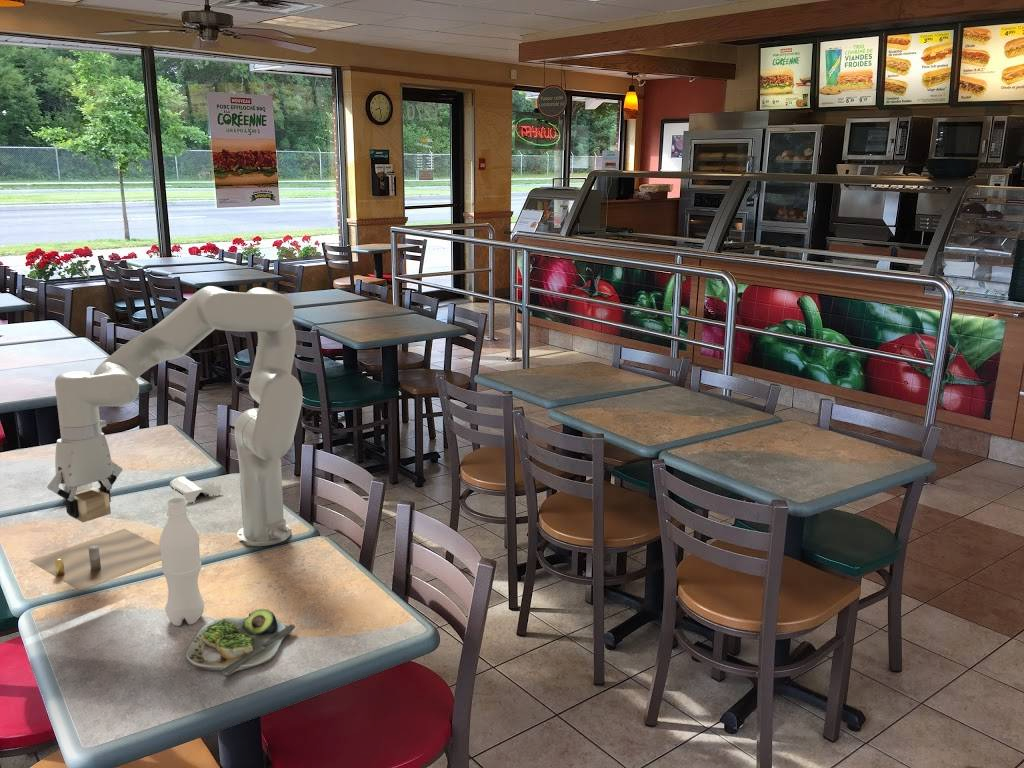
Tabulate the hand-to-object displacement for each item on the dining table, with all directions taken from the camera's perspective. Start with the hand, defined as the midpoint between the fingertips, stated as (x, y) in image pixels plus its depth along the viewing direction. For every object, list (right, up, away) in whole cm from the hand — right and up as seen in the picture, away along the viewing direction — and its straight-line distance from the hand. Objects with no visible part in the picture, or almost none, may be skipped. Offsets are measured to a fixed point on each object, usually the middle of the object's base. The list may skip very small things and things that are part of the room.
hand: (89, 510), depth 179 cm
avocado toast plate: (+39, -22, -22) cm, 50 cm away
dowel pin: (-6, -14, 0) cm, 15 cm away
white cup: (-26, -3, +46) cm, 53 cm away
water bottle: (+26, -19, -14) cm, 35 cm away
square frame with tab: (-2, 0, +2) cm, 3 cm away
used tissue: (+4, -3, +51) cm, 52 cm away
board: (-1, -13, +9) cm, 16 cm away
